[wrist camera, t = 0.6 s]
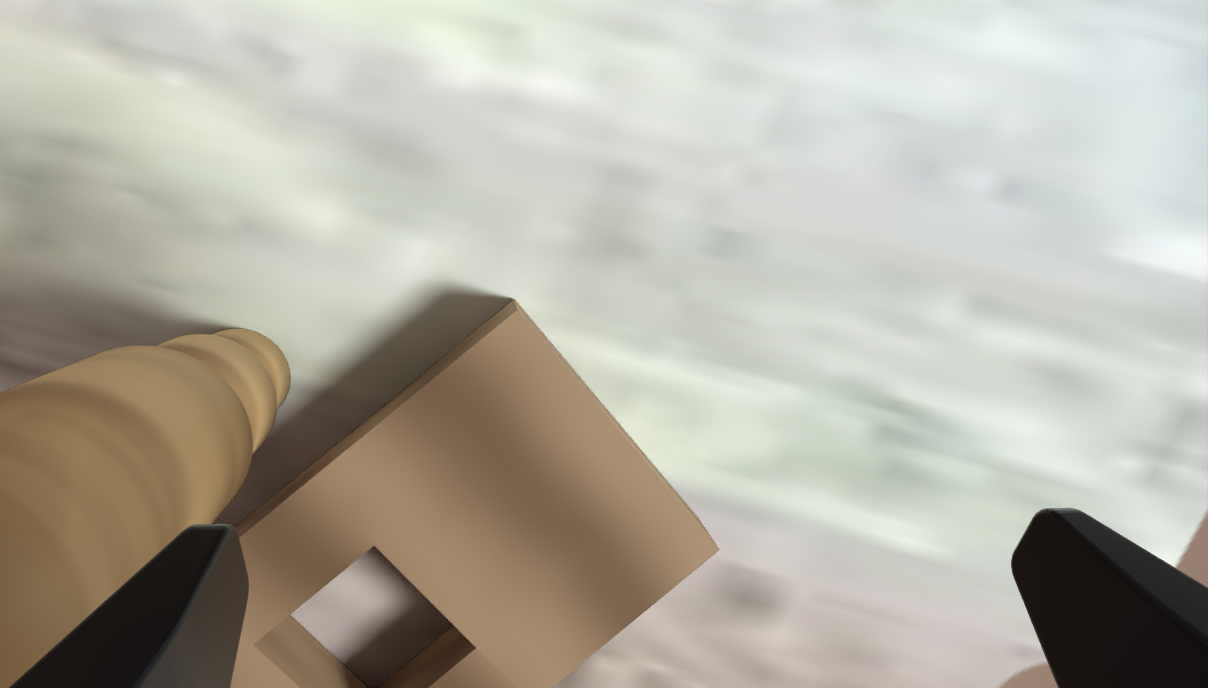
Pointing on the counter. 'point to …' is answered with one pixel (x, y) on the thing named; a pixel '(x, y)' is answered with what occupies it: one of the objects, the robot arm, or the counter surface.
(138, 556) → the oak peg
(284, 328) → the counter surface
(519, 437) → the wooden flat block
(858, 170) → the counter surface
